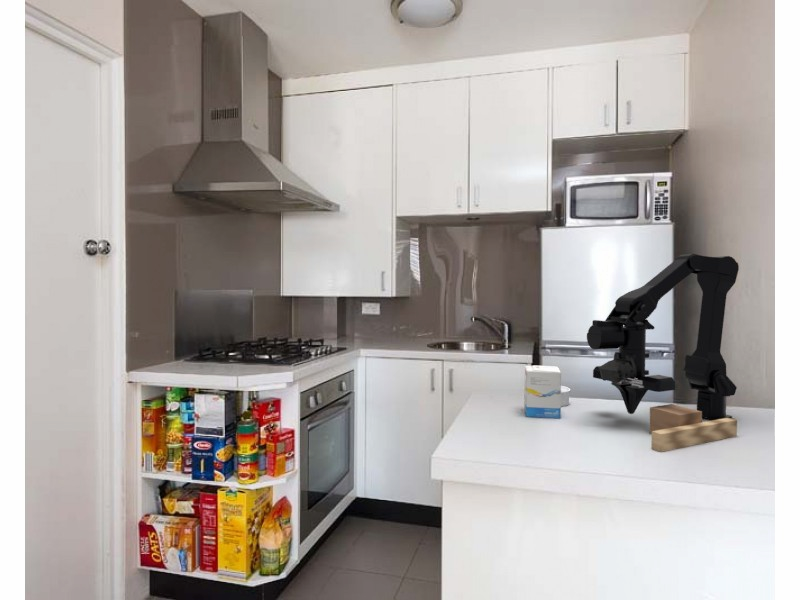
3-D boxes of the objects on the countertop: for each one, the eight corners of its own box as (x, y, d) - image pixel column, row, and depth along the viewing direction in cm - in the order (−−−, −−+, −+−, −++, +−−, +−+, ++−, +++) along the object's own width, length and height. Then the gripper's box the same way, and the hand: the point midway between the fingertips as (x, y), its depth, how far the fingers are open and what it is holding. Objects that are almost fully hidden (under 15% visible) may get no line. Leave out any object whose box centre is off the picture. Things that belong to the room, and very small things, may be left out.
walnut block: (671, 430, 109) (671, 404, 109) (701, 439, 103) (701, 411, 103) (649, 434, 107) (649, 407, 106) (679, 443, 100) (679, 415, 100)
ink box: (561, 419, 118) (561, 371, 118) (525, 417, 120) (526, 370, 120) (557, 410, 127) (557, 365, 126) (523, 408, 128) (524, 364, 128)
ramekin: (571, 408, 128) (571, 392, 128) (536, 406, 131) (536, 390, 131) (569, 400, 137) (569, 385, 137) (536, 398, 139) (536, 383, 139)
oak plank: (727, 433, 107) (727, 417, 107) (736, 436, 105) (737, 420, 105) (651, 448, 97) (651, 431, 97) (660, 451, 95) (660, 434, 95)
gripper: (576, 345, 120) (576, 408, 120) (642, 355, 103) (641, 428, 103) (609, 343, 124) (608, 403, 125) (677, 352, 107) (676, 422, 108)
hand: (630, 413), depth 115 cm, fingers closed
